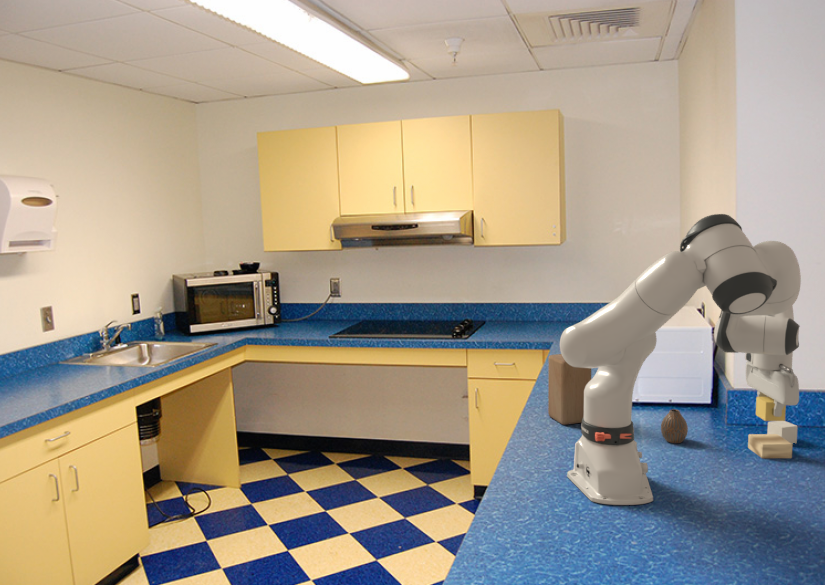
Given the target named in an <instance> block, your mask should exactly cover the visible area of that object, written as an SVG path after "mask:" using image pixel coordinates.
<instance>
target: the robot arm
mask: <svg viewBox="0 0 825 585" xmlns="http://www.w3.org/2000/svg"><path fill="white" fill-rule="evenodd" d="M801 276H802V275H801V269H800V264H799V261H798V258H797V255H796V253H795V251H794V250H793V249H792V248H791V247H790V246H789V245H788V244H786V243H783V242H782V241H776V240H767V241H762V242H759V243H757V244H755V245H752V243H751V241H750V240H749V238H748V237H747V235H746V234H745V232H743V228H742V226H741V225H740V223H739V222H737V221H736V220H735V219H734V218H733V217H732V216H731V215H730V214H725V213H715V214H710V215H707V216H704V217H703V218H701V219H699V220H697V221H696V222H695V223H694V224H693V226H691V228H690V229H689V230H688V232H687V233H686V236H684V237H683V239H682V240H681V242H680V246H679V251H670V252H668V253H666V254H664V255H662V256H661V257H660V258H658V259H656V260H655V261H654V262H652V263H651V264H650V265H649V266H648V267H646V268H645V269H644V270H643V271H642V272H641V273H640V274H639V275H638V276H637V277H636V278H635V279H634V280H633V281H632V282H631V283H630V284H629V285H628V287H626V288H625V289H624V291H622V293H620V294H619V295H618V296H617V297H616V298H615V299H612V301H610V302H609V303H607V304H606V305H604V306H602V307H601V308H599V309H598V310H597V311H595V312H593V313H592V314H590V315H589V316H587V317H585V319H583V320H581V321H580V322H577V323H575V324H573V325H570V326H569V327H567V328H565V329H564V330H563V331H562V333H561V335H560V339H559V350H560V354H562V356H563V358H564V360H565V361H566V362H567V363H568V364H569V365H571V366H573V367H579V368H591V369H597V370H596V373H595V374H594V376H593V377H591V380H590V381H589V382H588V383H587V385H586V386H585V389H584V417H583V418H582V423H580V424H581V425H580V428H581V429H580V430H581V431H580V432H581V434H582V435H581V436H580V438H579V439H578V440H577V441H576V442H575V444H574V445H575V446H574V460H573V469H571V470H568V471H567V475H566V476H567V478H568V479H569V480H570V481H571V482H572V483H573V484H574V485H575V486H576V487H577V488H578V489H579V490H580V491H581V492H582V493H583V495H585V496H586V498H588V499H589V500H590V501H591V502H593V503H598V504H603V505H613V506H629V505H630V506H634V505H644V504H648V503H651V502H653V501H654V496H653V492H652V490H651V489H652V488H651V486H650V483H649V480H648V476H647V474H648V473H649V472H648V471H649V469H648V468H649V466H648V462H643V461H642V462H641V459H642V458H643V452H642V451H638V443H637V441H636V440H635V428H634V423H633V420H632V415H633V414H632V409H633V394H634V387H635V384H636V381H637V378H638V376H639V373H640V370H641V368H642V366H643V364H644V363H645V361H646V359H647V358H648V357H649V356H650V355H651V354H652V353H653V351H654V350H655V348H656V345H657V333H656V332H657V331H658V330H660V329H661V327H663V326H664V325H665V324H666V323H668V321H670V320H671V319H672V318H673V317H674V316H675V315H676V314H678V312H679V311H681V310H682V309H683V308H684V307H685V306H686V305H687V303H688V302H689V301H690V300H691V299H692V297H694V295H695V293H696V292H697V291H698V290H699V289H701V288H704V287H706V288H707V289H708V292H709V293H710V294H711V297H712V301H713V302H714V304H716V305H717V307H718V308H719V309H720V314H719V315H718V319H717V321H716V323H715V324H714V325H715V326H714V331H713V336H714V342H715V344H716V346H717V347H718V348H719V349H720V350H722V352H724V353H725V354H727V353H732V354H733V353H737V354H739V353H742V354H744V359H745V361H746V363H745V381H746V384H747V385H748V386H749V387H751V388H753V389H754V390H756V394H757V395H756V396H757V397H770V398H772V399H774V403H775V406H774V408H772V415H774V416H776V417H780V416H781V415H782V409H783V408H784V406H785V405H786V406H797V405H798V403H799V402H800V386H799V380H798V377H797V375H796V374H795V373H794V370H793V354H794V351H796V350H797V349H798V348H799V347H800V342H799V332H800V327H801V326H800V324H798V323H797V322H796V321H795V318H794V308H793V306H794V304H795V302H796V301H797V299H798V297H799V294H800V290H801V284H802V283H801V282H802V280H801Z"/></svg>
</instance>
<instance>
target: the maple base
mask: <svg viewBox="0 0 825 585" xmlns="http://www.w3.org/2000/svg"><path fill="white" fill-rule="evenodd" d="M747 436H748V438H747V439H748V440H747V441H748V442H747V448H748V449H749V450H750V451H751V452H753V453H754V454H756V455H757V456H758V457H760V459H792V458H793V445H794V444H791V443H790V442H788V441H787V440H785V439H784V438H782V437H781V436H779V435H778V434H767V433H765V434H763V433H759V434H758V433H757V434H755V433H752V434H751V433H749V434H748V435H747Z"/></svg>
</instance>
